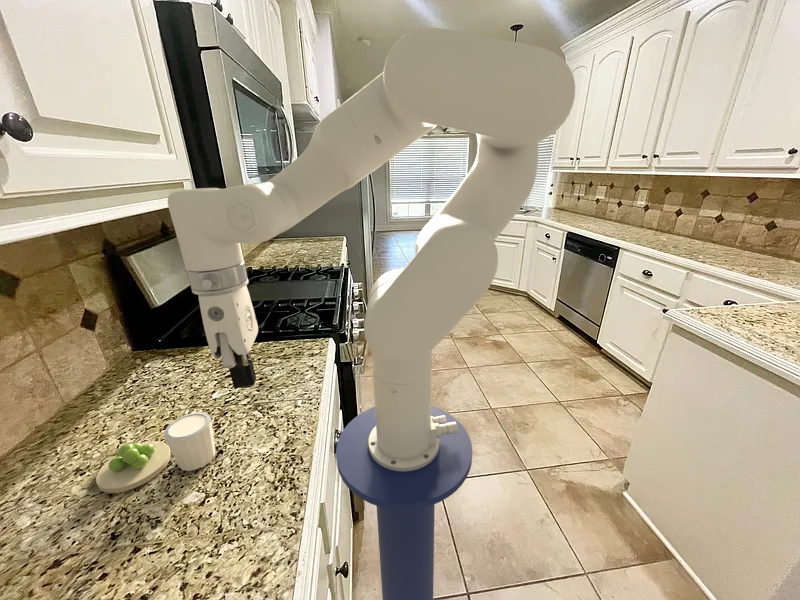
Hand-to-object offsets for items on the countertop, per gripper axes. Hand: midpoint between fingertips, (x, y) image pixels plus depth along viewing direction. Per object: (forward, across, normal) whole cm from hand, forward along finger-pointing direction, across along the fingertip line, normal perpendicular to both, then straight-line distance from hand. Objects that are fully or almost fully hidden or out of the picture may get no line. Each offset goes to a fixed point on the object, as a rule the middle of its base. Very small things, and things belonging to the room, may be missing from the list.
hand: (245, 383), depth 56 cm
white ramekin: (+13, 0, +10) cm, 17 cm away
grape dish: (+13, 0, +20) cm, 24 cm away
